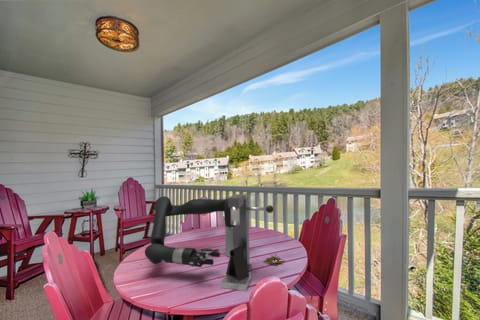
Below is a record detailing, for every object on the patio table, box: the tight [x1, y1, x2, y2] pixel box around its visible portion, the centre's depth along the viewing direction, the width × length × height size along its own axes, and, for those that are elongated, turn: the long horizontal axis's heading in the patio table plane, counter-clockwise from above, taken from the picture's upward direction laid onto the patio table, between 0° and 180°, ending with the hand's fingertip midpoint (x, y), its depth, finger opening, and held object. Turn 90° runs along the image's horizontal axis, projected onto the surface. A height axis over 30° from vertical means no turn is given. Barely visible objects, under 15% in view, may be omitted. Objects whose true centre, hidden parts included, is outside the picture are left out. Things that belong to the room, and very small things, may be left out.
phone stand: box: [225, 247, 249, 281], centre depth 100 cm, size 9×6×12 cm, turn 45°
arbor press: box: [220, 194, 275, 292], centre depth 102 cm, size 20×22×38 cm
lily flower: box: [262, 253, 284, 267], centre depth 120 cm, size 12×12×5 cm
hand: (216, 258), depth 101 cm, fingers open, 8 cm apart
